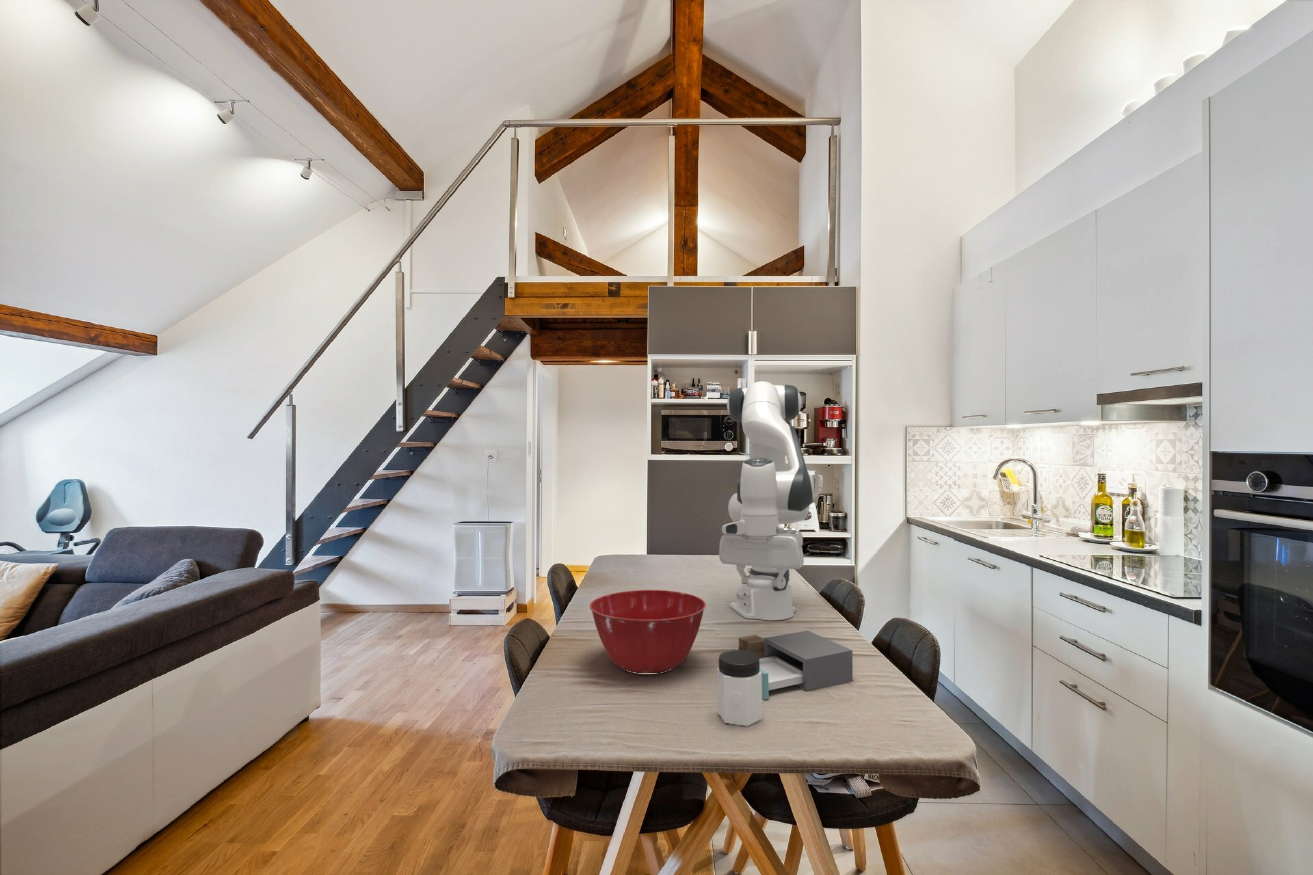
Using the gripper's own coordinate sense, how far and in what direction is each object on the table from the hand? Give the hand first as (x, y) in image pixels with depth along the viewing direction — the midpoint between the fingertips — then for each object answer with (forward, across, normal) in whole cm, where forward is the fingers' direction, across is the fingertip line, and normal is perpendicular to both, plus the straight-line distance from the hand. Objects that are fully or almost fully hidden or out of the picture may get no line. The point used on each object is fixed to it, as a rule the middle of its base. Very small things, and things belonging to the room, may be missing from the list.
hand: (761, 585), depth 148 cm
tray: (+21, -3, +5) cm, 21 cm away
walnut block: (+20, +6, -8) cm, 22 cm away
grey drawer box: (+21, -9, -4) cm, 23 cm away
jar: (+22, -4, +24) cm, 32 cm away
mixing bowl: (+20, +26, +8) cm, 35 cm away
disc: (0, 0, 0) cm, 0 cm away
